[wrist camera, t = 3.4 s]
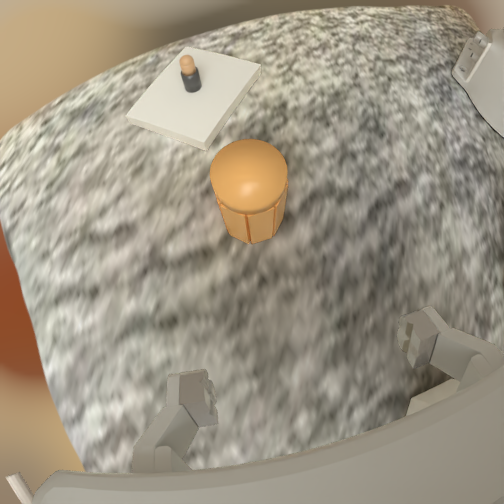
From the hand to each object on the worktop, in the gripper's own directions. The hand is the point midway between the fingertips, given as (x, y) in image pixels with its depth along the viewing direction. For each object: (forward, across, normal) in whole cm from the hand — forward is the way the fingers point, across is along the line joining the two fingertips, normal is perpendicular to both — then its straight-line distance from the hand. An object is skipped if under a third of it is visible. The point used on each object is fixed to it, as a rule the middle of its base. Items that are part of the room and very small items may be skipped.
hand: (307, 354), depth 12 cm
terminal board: (+28, +3, -9) cm, 30 cm away
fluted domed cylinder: (+18, 0, +2) cm, 18 cm away
